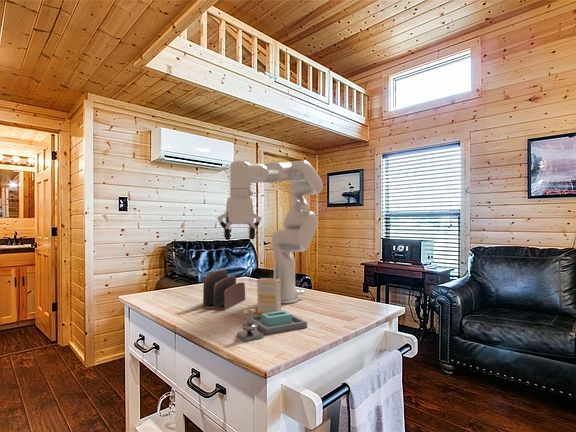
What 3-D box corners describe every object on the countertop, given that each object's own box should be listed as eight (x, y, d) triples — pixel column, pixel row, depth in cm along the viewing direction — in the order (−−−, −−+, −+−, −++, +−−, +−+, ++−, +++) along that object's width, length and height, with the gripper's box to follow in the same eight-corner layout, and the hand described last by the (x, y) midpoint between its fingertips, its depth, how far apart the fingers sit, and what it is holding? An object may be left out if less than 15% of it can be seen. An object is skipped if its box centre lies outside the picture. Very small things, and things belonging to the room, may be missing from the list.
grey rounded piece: (254, 332, 104) (255, 306, 104) (263, 337, 99) (263, 310, 99) (237, 335, 101) (237, 308, 101) (244, 341, 96) (244, 313, 96)
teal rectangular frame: (268, 327, 107) (268, 317, 107) (261, 322, 112) (261, 313, 112) (295, 322, 112) (295, 313, 112) (286, 318, 117) (286, 310, 117)
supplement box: (281, 312, 128) (281, 278, 128) (277, 315, 123) (277, 280, 123) (261, 310, 130) (262, 277, 131) (256, 313, 126) (256, 279, 126)
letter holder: (202, 309, 133) (202, 274, 133) (225, 298, 152) (225, 267, 152) (224, 311, 130) (225, 275, 130) (245, 300, 149) (245, 268, 149)
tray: (285, 316, 122) (285, 311, 122) (307, 327, 109) (307, 321, 109) (247, 322, 115) (247, 316, 115) (266, 334, 102) (266, 328, 102)
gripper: (256, 195, 132) (256, 238, 132) (214, 194, 124) (214, 239, 123) (265, 194, 126) (264, 239, 126) (221, 192, 117) (220, 240, 117)
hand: (239, 239), depth 124 cm, fingers open, 9 cm apart
